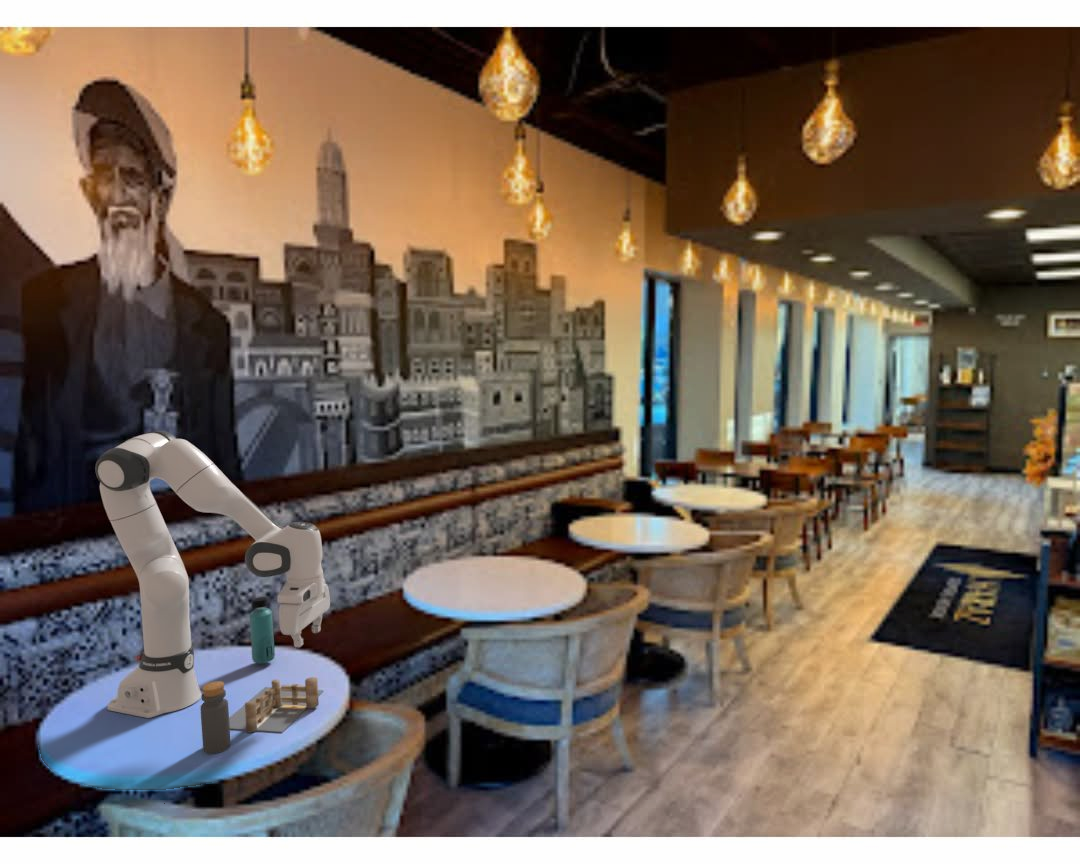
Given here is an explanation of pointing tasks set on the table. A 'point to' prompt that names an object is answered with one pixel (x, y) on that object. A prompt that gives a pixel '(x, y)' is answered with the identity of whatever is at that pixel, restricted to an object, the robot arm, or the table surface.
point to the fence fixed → (258, 705)
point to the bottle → (215, 718)
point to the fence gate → (309, 688)
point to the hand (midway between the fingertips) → (307, 639)
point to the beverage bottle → (261, 632)
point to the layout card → (271, 714)
